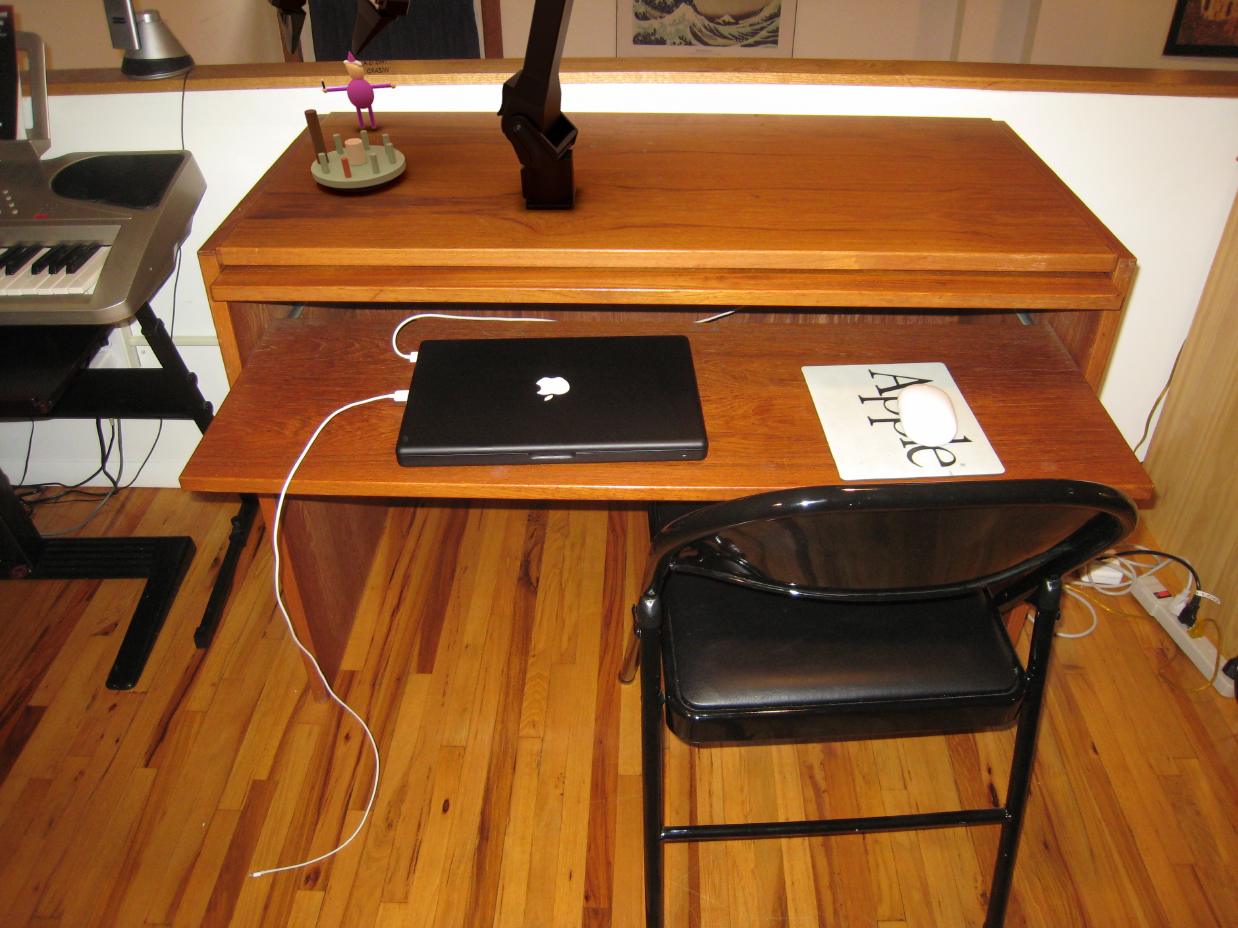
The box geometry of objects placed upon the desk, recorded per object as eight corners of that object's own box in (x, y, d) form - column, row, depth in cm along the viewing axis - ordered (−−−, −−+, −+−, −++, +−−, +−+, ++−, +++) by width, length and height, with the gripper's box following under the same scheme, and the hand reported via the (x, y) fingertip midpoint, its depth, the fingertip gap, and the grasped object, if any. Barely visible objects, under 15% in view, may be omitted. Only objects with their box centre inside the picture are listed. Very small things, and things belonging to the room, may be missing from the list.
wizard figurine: (403, 125, 133) (389, 45, 125) (403, 132, 131) (388, 51, 123) (333, 130, 132) (313, 50, 124) (331, 137, 130) (311, 56, 122)
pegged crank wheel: (414, 152, 121) (404, 95, 116) (394, 188, 111) (382, 128, 106) (328, 152, 121) (313, 95, 116) (300, 188, 112) (283, 128, 106)
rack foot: (400, 166, 121) (398, 159, 120) (385, 192, 114) (383, 184, 113) (339, 166, 121) (338, 159, 120) (321, 192, 114) (319, 184, 113)
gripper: (377, -99, 104) (354, 19, 115) (232, -122, 92) (222, 12, 103) (425, -48, 101) (397, 68, 112) (283, -66, 89) (266, 67, 100)
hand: (323, 53), depth 107 cm, fingers open, 9 cm apart
